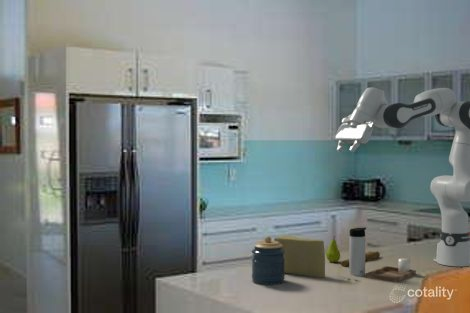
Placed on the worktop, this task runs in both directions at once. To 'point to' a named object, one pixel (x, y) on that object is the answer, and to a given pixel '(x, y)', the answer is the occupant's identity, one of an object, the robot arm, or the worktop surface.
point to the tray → (389, 274)
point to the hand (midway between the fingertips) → (345, 151)
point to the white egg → (403, 266)
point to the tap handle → (367, 257)
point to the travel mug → (357, 252)
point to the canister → (268, 262)
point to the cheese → (303, 256)
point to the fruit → (333, 252)
